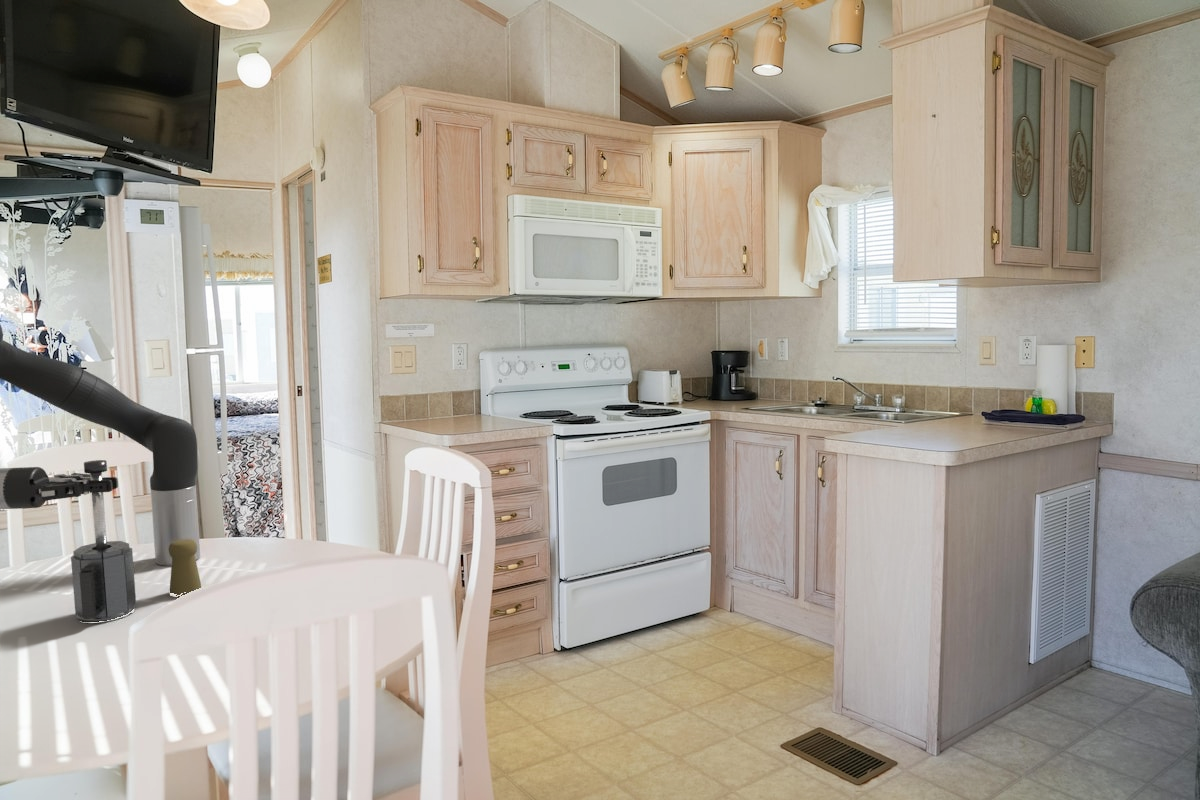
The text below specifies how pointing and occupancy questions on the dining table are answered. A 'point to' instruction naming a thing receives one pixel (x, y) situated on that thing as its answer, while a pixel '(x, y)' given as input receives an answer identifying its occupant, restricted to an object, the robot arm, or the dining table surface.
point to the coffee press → (103, 581)
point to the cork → (183, 567)
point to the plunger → (98, 502)
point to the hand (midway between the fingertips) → (114, 484)
